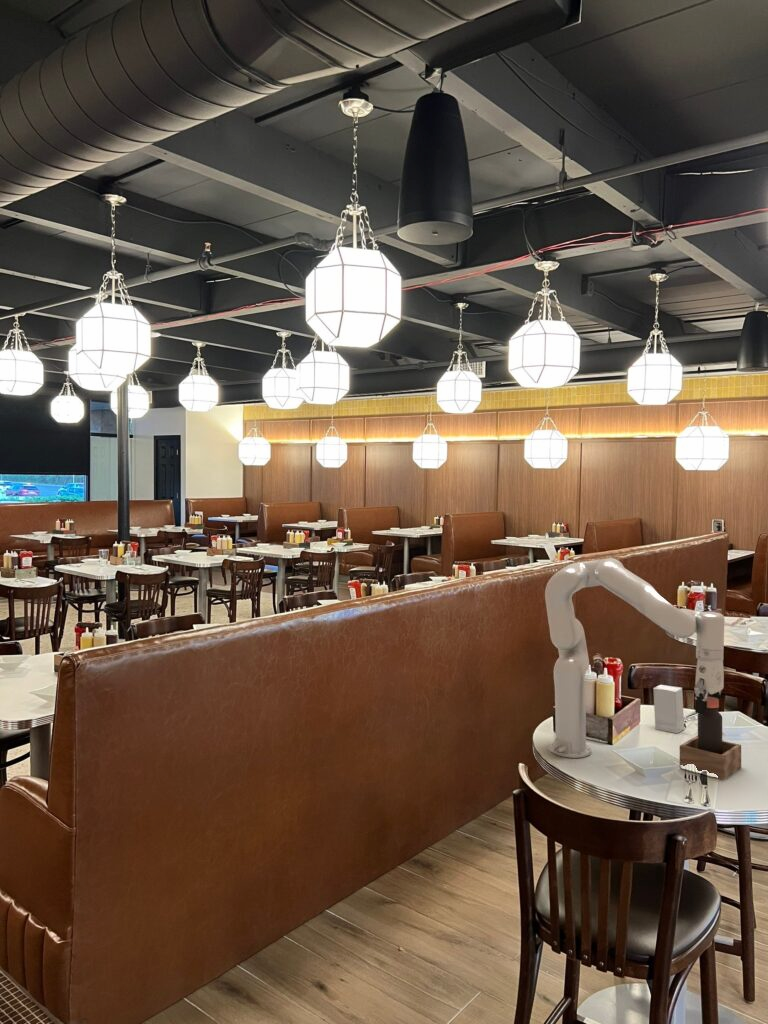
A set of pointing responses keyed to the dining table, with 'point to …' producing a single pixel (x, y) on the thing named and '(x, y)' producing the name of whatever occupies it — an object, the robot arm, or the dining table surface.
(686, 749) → the caddy
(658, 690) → the skincare box
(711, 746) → the vinegar
